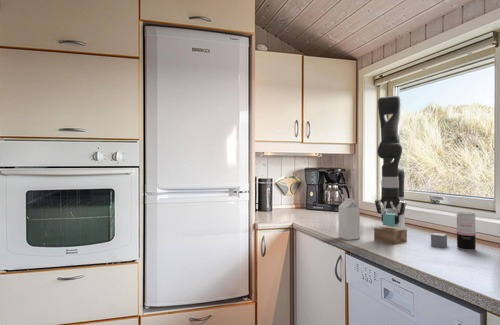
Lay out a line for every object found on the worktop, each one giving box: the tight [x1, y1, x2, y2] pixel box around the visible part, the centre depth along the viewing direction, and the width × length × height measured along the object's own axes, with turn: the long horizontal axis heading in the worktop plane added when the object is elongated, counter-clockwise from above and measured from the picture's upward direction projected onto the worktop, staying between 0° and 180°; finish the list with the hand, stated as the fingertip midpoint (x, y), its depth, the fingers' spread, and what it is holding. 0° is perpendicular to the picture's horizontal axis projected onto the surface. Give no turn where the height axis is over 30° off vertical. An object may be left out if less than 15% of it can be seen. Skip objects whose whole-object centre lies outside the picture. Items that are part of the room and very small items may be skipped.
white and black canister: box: [456, 211, 477, 252], centre depth 145 cm, size 7×6×15 cm
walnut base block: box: [373, 225, 408, 245], centre depth 161 cm, size 10×10×6 cm
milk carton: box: [338, 197, 361, 241], centre depth 167 cm, size 7×7×19 cm
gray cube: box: [430, 232, 448, 248], centre depth 151 cm, size 5×5×5 cm
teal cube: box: [382, 212, 398, 226], centre depth 161 cm, size 5×5×5 cm
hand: (390, 223), depth 161 cm, fingers closed on teal cube, 5 cm apart
